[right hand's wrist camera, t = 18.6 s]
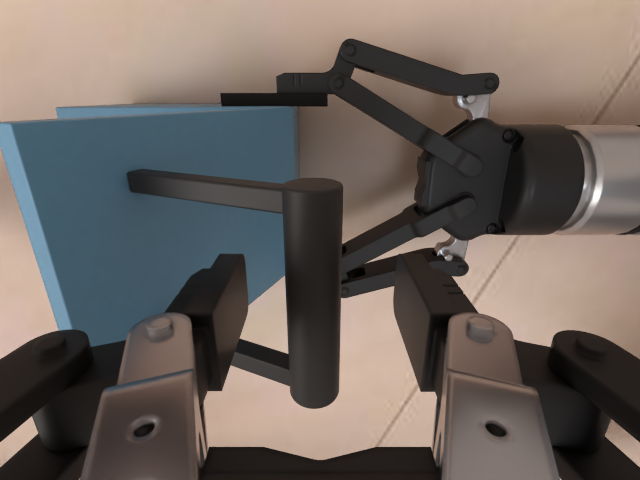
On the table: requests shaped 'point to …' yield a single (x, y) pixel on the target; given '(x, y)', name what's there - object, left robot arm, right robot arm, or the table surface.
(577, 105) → the table surface
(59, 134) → the lid
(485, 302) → the table surface
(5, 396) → the right robot arm
